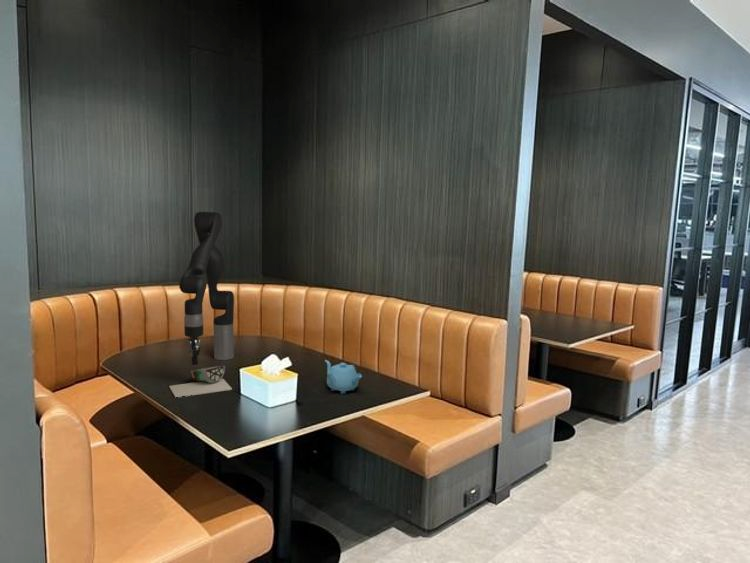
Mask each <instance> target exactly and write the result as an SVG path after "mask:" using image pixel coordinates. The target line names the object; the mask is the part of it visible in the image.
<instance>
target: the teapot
mask: <svg viewBox="0 0 750 563" xmlns="http://www.w3.org/2000/svg"><path fill="white" fill-rule="evenodd" d="M324 362H325V363H326V366H327V368H326V372H327V374H326V375H327V376H326V384H327V386H328V387H329V388H330V391H333V392H335V391H340V392H339V393H340V394H341V395H346V392H348V391H355V389H356V388H357V387H358V385H359V380H360V379H361V378H362V377H363V375H362V374H361V373H360V372H359V373H357V371H356V367H355V365H354V364H347V363H345V362H339V363H338V364H335V365H332V364H331V362H330V361H329V360H327V359H324Z"/></svg>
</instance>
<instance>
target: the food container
mask: <svg viewBox="0 0 750 563" xmlns="http://www.w3.org/2000/svg"><path fill="white" fill-rule="evenodd" d="M225 370H226V366H225V365H217V366H211V367H203V368H198V369H195V370H190V371H189V376H190V378H191V379H192V380H193V381H195V382H202V381H207V382H209V383H214V382H217V381H219V380H220V379H223V376H224V375H225Z"/></svg>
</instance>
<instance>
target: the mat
mask: <svg viewBox="0 0 750 563" xmlns="http://www.w3.org/2000/svg"><path fill="white" fill-rule="evenodd" d="M168 387H169V389H170V391H171V393H172V394H173V396H174V398H176V397H178V398H183V397H182V396H185V397H190V396H191V395H192V396H196V395H204V394H212V393H218V392H224V391H231V390H233V388H232V387H231V385H229V383H228V382H227V381H226V380H225V379H224V378H221V379H220V380H219V381H217V382H214V383H209V382H207V381H195V382H189V383H187V382H186V383H182V384H173V385H169V386H168Z"/></svg>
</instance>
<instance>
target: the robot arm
mask: <svg viewBox="0 0 750 563" xmlns="http://www.w3.org/2000/svg"><path fill="white" fill-rule="evenodd" d="M193 222H194V228H195V232H196V236H197V238H198V242H199V245H198V246H197V247H196V248H195V249H194V251H193V252H192V255H191V258H190V261H189V265H188V267H187V269H186V270H185V272H184V273H183V275H182V277H181V278H180V281H179V284H178V287H179V290H180V291H181V292H182V293H183V294H189V295H190V294H193V295H195V297H193V298H189V299H186V300H185V301H184V318H183V320H184V323H183V324H184V328H183V330H184V336H185V337H189V339H188V346H189V347H188V348H189V354H190V357H191V364H192V366H196V365H198V364H199V362H198V361H199V360H198V358H199V356H200V353H201V345H200V344H201V341H200V339H199V337H202V336H203V335H204V316H203V315H204V314H203V302H204V297H205V294H206V290H208V299H209V304H210V307H211V308H212V310H217V311H218V310H219V311H225V312H224V313H223V314H221V315H218V316H216V317H214V318H213V347H214V348H213V353H214V354H213V356H214V359H215V360H217V361H228V360H232V359H234V358H235V354H234V352H235V350H234V348H235V347H234V343H235V342H234V337H235V336H234V314H235V312H234V311H235V310H234V309H235V308H234V307H235V294H234V292H233V291H231V290H219V289H218V283H219V281H220V279H222V277H223V274H224V273H225V270H226V264H225V258H224V255H223V253H222V252H221V249H219V247H217V246H216V245H215V244H216V243H217V240H218V237H219V236H220V233H221V230H222V228H223V226H222V225H223V218H222V215H221V214H220V213H219V212H213V211H198V212H196V213H195V215H194V218H193ZM204 274H205V276H206V279H205V278H204V277H202V276H203V275H204ZM206 281H207V282H206ZM207 288H208V289H207Z"/></svg>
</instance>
